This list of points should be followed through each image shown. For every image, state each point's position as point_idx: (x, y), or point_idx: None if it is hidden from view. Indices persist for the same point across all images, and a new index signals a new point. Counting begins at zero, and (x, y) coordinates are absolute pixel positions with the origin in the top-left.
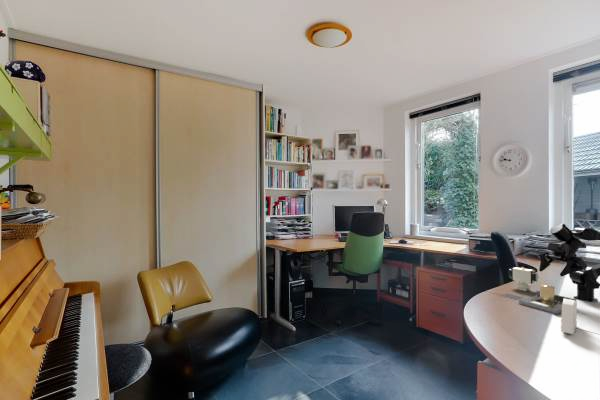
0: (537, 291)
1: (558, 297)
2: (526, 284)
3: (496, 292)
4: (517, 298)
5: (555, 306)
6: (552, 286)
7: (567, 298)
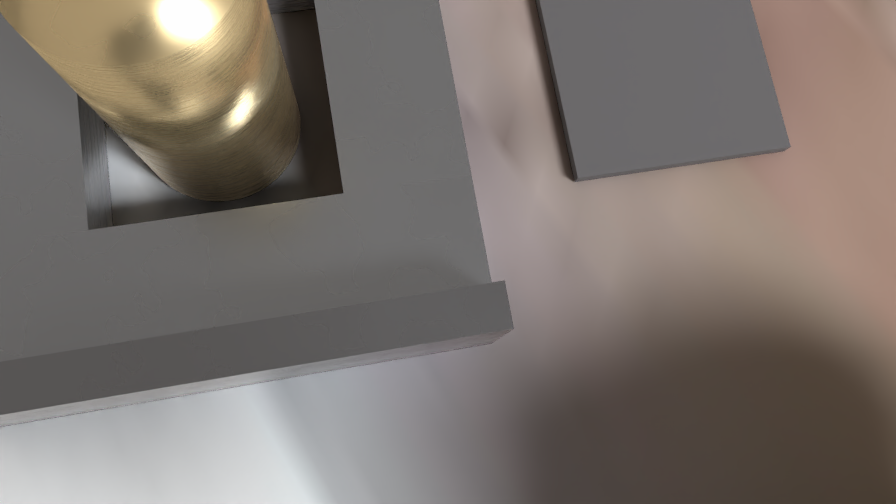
0: (490, 285)
1: (167, 339)
2: None
3: (888, 75)
4: (569, 45)
5: None
6: (37, 7)
7: (22, 360)
